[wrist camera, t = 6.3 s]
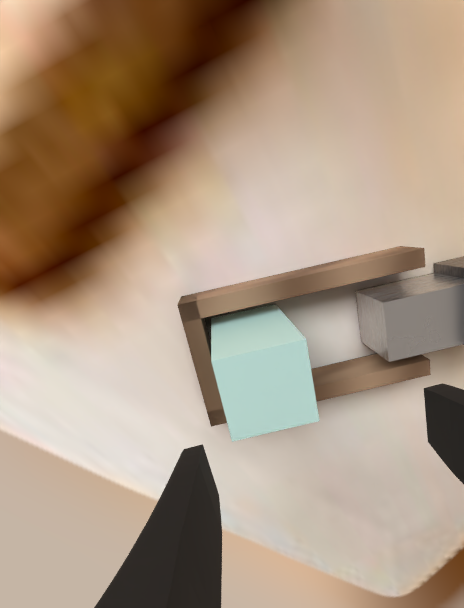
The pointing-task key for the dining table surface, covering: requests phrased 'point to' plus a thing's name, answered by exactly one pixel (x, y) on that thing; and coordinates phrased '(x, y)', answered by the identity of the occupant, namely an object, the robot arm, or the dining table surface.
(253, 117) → the dining table surface
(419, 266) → the rail channel
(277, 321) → the block
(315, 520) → the dining table surface
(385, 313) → the grey t-shaped block
